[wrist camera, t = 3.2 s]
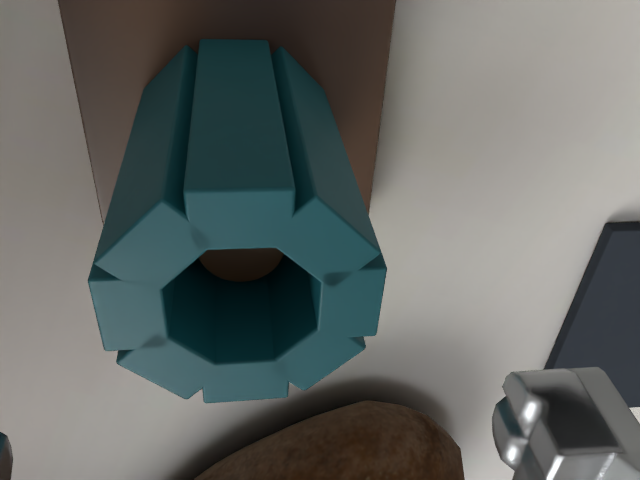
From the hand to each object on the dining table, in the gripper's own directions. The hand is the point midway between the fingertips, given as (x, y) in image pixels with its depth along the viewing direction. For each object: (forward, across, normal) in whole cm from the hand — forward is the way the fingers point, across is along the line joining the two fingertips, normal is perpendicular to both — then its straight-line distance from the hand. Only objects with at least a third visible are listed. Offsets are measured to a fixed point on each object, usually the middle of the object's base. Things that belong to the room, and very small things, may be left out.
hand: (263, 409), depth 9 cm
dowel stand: (+12, 0, 0) cm, 12 cm away
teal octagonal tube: (+10, 0, 0) cm, 11 cm away
